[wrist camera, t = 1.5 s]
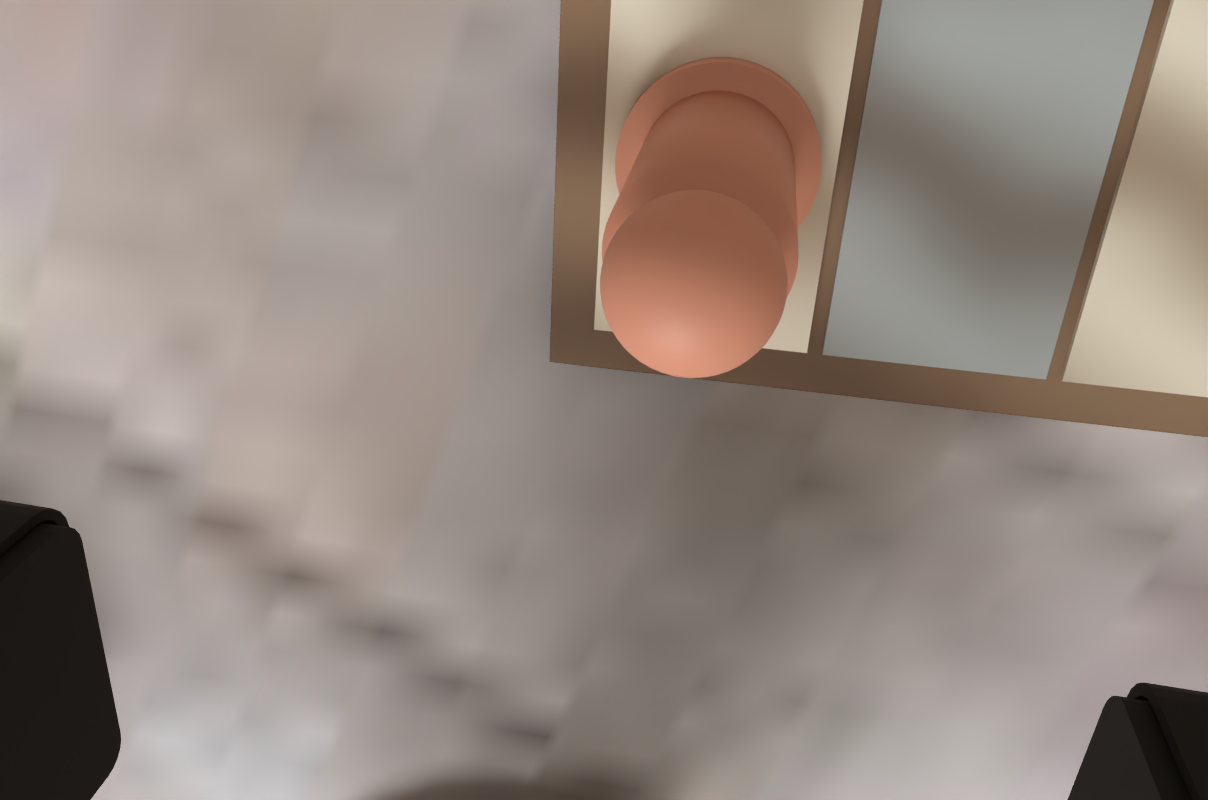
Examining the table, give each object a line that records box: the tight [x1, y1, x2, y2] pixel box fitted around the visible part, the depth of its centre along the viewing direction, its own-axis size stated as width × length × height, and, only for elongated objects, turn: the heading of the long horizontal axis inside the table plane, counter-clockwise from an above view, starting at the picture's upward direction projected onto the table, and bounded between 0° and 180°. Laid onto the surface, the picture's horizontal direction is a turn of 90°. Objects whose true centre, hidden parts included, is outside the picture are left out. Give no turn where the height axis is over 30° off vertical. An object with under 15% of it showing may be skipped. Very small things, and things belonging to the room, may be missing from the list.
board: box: [550, 0, 1208, 437], centre depth 25 cm, size 12×26×1 cm, turn 87°
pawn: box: [600, 57, 821, 378], centre depth 21 cm, size 5×5×10 cm
